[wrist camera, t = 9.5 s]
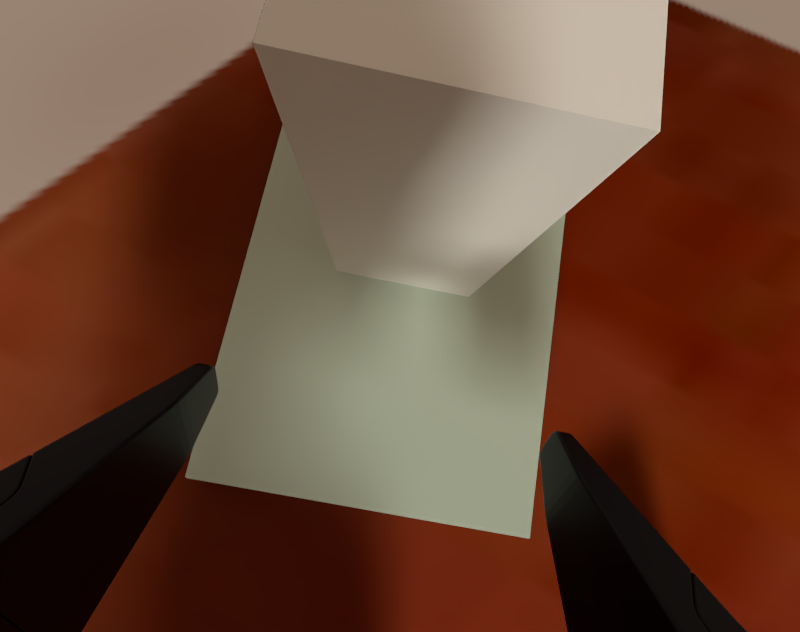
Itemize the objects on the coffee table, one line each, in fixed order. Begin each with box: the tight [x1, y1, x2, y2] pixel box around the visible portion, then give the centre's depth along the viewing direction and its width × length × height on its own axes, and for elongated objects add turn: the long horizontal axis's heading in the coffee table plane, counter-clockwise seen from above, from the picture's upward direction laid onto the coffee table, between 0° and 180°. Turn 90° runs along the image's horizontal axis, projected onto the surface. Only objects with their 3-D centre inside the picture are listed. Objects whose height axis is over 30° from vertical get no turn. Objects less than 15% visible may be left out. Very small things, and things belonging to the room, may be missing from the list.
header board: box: [185, 125, 565, 539], centre depth 14 cm, size 18×14×5 cm
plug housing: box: [252, 0, 668, 297], centre depth 11 cm, size 5×6×11 cm
